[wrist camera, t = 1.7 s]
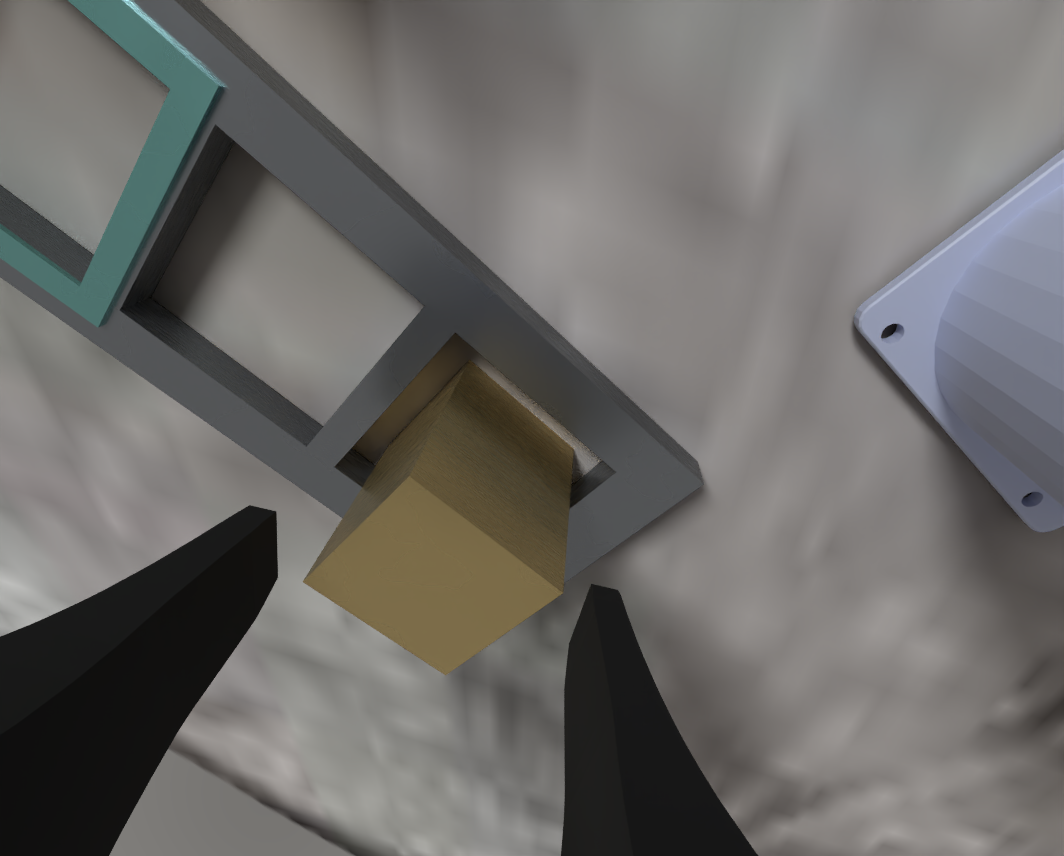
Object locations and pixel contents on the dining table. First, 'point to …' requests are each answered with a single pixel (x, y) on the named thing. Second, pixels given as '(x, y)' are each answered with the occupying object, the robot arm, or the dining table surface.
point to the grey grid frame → (365, 220)
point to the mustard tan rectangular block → (455, 526)
